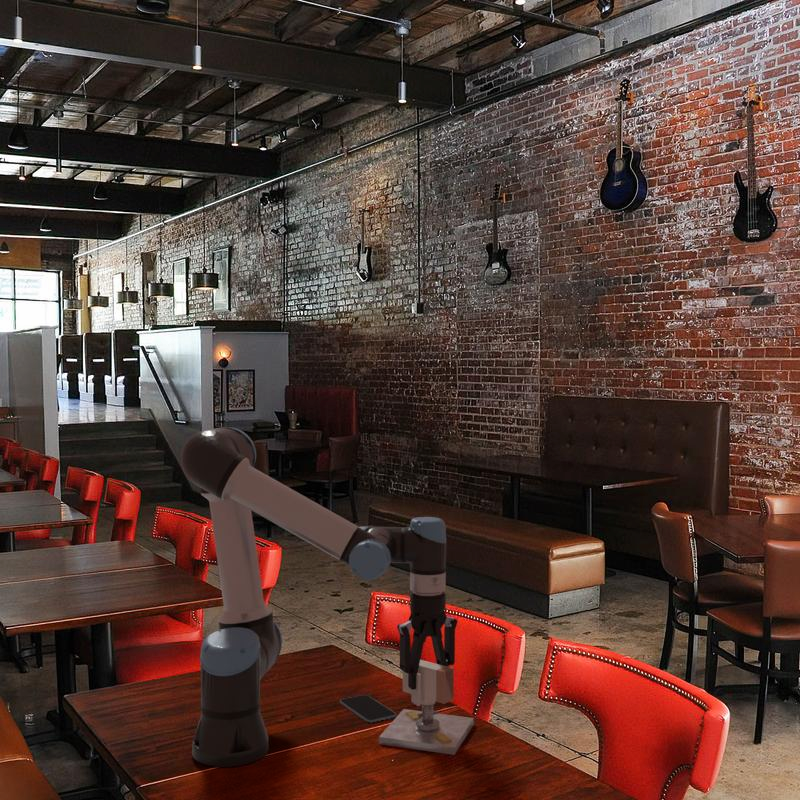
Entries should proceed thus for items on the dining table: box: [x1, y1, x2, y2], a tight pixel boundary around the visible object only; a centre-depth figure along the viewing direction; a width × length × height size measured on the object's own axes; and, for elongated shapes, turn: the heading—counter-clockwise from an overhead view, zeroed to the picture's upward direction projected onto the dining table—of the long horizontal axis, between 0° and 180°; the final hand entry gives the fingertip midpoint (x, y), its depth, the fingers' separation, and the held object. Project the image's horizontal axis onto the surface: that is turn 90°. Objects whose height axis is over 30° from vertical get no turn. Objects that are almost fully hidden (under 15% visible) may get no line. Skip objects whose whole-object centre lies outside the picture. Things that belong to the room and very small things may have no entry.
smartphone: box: [339, 694, 397, 724], centre depth 200 cm, size 7×1×15 cm
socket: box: [378, 704, 475, 756], centre depth 186 cm, size 16×16×6 cm
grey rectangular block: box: [402, 659, 455, 706], centre depth 185 cm, size 11×3×8 cm, turn 51°
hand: (427, 701), depth 186 cm, fingers closed on grey rectangular block, 5 cm apart
